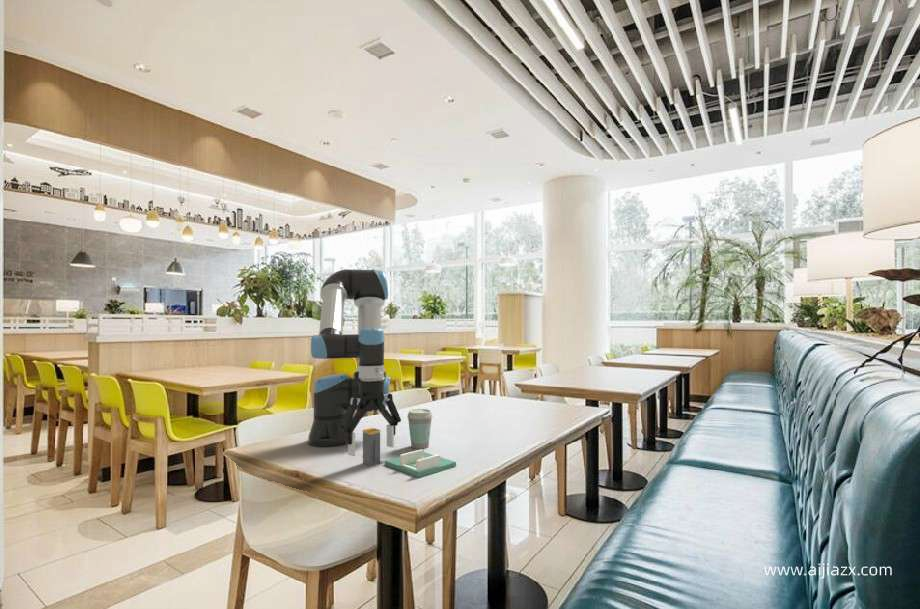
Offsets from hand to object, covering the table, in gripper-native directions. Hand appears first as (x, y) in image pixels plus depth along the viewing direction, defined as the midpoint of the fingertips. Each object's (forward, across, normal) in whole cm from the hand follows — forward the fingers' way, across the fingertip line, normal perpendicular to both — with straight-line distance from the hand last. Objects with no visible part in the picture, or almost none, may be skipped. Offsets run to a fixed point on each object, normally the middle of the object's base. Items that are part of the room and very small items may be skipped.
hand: (371, 450), depth 140 cm
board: (+4, +9, -12) cm, 15 cm away
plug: (+4, 0, 0) cm, 4 cm away
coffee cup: (+4, +22, +4) cm, 23 cm away
